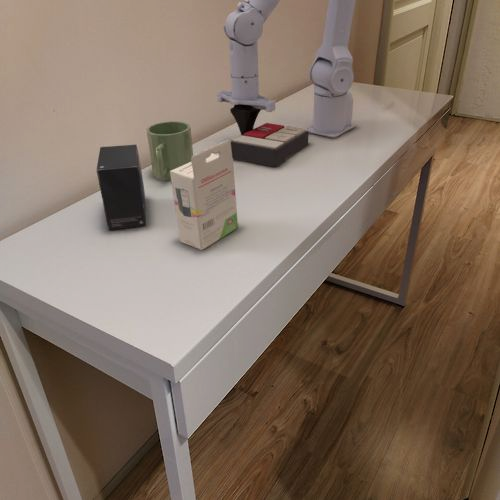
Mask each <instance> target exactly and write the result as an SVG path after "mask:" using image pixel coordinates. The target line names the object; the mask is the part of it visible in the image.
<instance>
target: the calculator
mask: <svg viewBox="0 0 500 500" xmlns="http://www.w3.org/2000/svg"><path fill="white" fill-rule="evenodd" d="M306 129H307V128H302V127H297V126H296V127H295V126H290V125H286V126H285V124H277V123H269V122H265V123H263V124H261V125H259V126H257V127H255V128H253V130H251V131H248V132H246V133H244V135H243V136H241V135H240V136H237V137H236V138H234V139H232V140H230V142H231V150H232V159H233V160H238V161H243V162H247V163H251V164H252V163H253V164H258V165H264V166H268V167H273V168H276V167H278V166H280V165H282V164H284V163H285V162H286V160H287V158H289V157H290V156H291V155H293V154H295V153H297V152H298V151H300V150H301V149H304V148H305V147H306V146H308V145H309V136H310V133H309V132H308V131H306Z"/></svg>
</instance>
